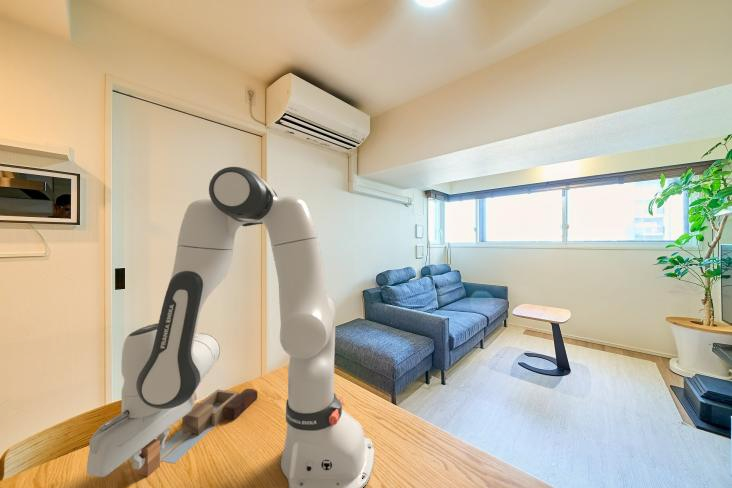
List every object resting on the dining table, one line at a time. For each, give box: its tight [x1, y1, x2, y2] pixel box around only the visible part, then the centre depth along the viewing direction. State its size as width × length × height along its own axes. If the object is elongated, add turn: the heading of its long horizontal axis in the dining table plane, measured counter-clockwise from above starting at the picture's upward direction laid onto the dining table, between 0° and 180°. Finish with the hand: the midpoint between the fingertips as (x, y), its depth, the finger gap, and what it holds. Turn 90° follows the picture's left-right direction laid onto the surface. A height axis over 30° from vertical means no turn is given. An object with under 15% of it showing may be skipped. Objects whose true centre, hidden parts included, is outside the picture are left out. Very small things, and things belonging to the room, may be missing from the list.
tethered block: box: [138, 402, 213, 477], centre depth 63 cm, size 5×17×6 cm, turn 169°
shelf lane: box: [160, 388, 240, 464], centre depth 69 cm, size 8×22×4 cm, turn 169°
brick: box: [222, 388, 258, 422], centre depth 77 cm, size 11×4×5 cm, turn 167°
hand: (149, 458), depth 56 cm, fingers closed on tethered block, 3 cm apart
